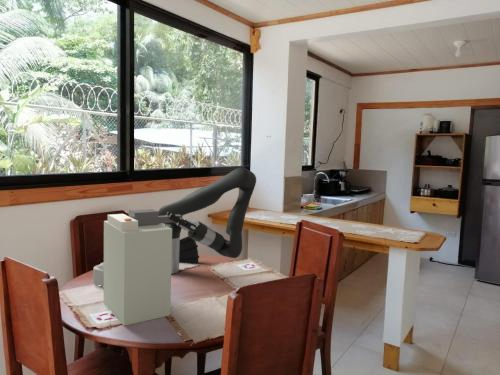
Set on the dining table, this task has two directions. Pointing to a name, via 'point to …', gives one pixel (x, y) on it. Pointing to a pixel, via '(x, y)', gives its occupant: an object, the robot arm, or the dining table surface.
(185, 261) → the black ridged fan wedge
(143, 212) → the block
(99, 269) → the lumpy-topped squat cylinder
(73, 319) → the dining table surface
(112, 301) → the pale grey tall block
